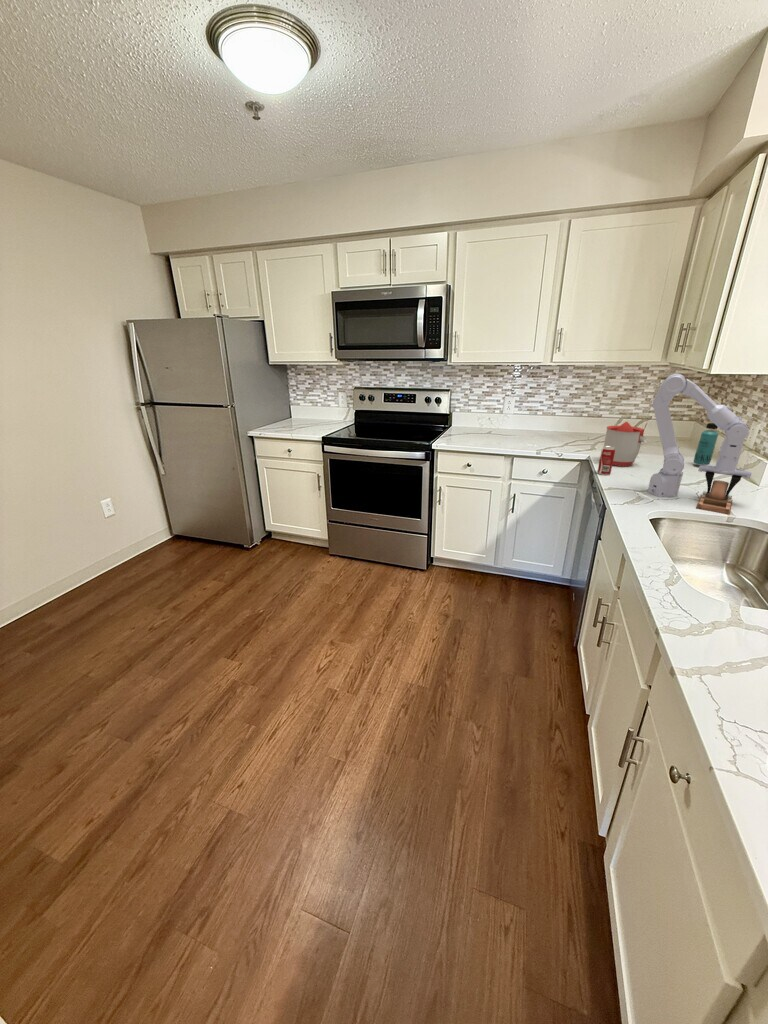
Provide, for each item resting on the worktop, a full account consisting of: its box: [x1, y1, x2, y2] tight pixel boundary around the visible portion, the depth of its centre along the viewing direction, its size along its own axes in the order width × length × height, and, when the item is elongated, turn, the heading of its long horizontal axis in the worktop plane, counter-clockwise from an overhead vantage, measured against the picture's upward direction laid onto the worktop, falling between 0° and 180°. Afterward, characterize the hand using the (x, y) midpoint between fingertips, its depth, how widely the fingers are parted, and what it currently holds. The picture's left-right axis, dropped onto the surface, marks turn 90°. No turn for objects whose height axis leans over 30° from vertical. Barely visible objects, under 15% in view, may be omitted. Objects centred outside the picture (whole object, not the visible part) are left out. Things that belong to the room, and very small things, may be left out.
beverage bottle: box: [693, 422, 719, 466], centre depth 193 cm, size 6×7×20 cm
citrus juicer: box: [603, 421, 647, 467], centre depth 198 cm, size 16×17×20 cm
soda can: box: [597, 445, 615, 476], centre depth 184 cm, size 5×5×12 cm
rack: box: [695, 490, 733, 516], centre depth 148 cm, size 18×9×2 cm, turn 140°
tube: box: [709, 479, 730, 500], centre depth 150 cm, size 4×4×7 cm
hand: (717, 493), depth 150 cm, fingers open, 5 cm apart
